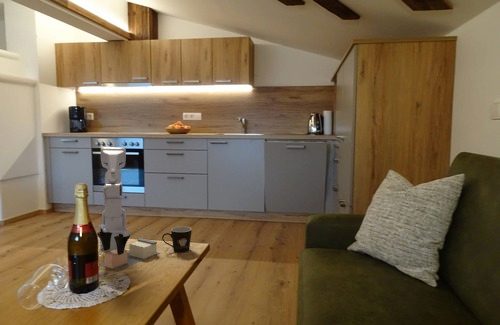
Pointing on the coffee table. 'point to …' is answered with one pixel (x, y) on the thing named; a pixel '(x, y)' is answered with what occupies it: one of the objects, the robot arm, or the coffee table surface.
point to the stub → (115, 259)
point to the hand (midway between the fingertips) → (113, 252)
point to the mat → (128, 261)
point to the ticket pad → (143, 248)
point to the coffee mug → (180, 239)
